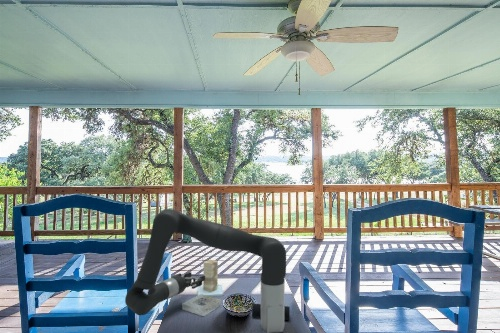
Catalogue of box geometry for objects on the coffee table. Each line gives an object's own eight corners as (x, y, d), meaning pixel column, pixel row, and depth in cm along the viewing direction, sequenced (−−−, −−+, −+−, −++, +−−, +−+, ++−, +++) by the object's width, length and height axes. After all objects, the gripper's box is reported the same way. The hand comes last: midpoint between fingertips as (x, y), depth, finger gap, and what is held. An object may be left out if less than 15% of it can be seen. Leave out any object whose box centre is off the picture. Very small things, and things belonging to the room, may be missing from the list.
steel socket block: (203, 316, 118) (203, 310, 118) (182, 309, 124) (182, 303, 124) (221, 305, 128) (221, 299, 128) (200, 299, 134) (200, 293, 135)
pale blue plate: (223, 295, 139) (223, 293, 139) (198, 297, 137) (198, 295, 137) (221, 286, 151) (221, 284, 151) (198, 287, 149) (198, 285, 149)
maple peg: (211, 292, 140) (211, 263, 141) (203, 290, 143) (203, 262, 143) (217, 289, 145) (217, 261, 145) (209, 287, 147) (209, 259, 148)
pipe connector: (256, 294, 128) (290, 297, 126) (256, 306, 128) (290, 309, 126) (252, 306, 117) (289, 309, 114) (251, 319, 117) (289, 323, 114)
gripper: (184, 281, 118) (209, 270, 132) (160, 275, 126) (186, 265, 139) (184, 300, 118) (209, 287, 132) (160, 292, 125) (186, 280, 139)
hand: (197, 275), depth 136 cm, fingers open, 8 cm apart
